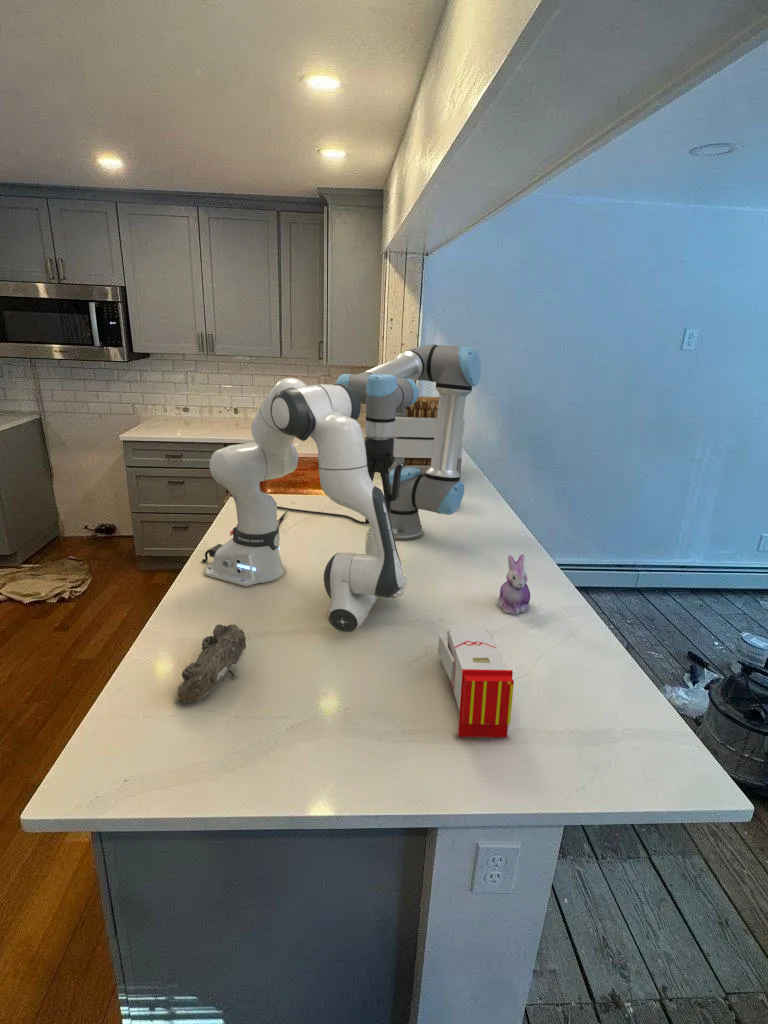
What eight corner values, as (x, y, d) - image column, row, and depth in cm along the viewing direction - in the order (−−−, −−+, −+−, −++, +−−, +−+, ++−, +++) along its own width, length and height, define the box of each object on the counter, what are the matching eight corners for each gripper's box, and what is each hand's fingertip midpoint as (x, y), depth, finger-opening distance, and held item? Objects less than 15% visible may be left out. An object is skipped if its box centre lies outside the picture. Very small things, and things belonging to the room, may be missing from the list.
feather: (294, 505, 227) (296, 501, 226) (277, 528, 200) (280, 524, 199) (290, 503, 226) (292, 499, 226) (273, 526, 200) (276, 521, 199)
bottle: (362, 593, 157) (365, 520, 150) (365, 585, 162) (367, 513, 155) (381, 595, 157) (385, 522, 149) (383, 586, 162) (387, 515, 154)
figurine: (512, 619, 147) (519, 566, 142) (488, 601, 156) (494, 551, 151) (540, 611, 151) (548, 560, 146) (515, 594, 160) (522, 546, 155)
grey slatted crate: (382, 463, 289) (386, 382, 275) (445, 464, 293) (451, 384, 279) (390, 482, 257) (394, 392, 243) (460, 483, 261) (468, 394, 247)
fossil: (199, 626, 130) (246, 596, 125) (228, 655, 132) (275, 626, 127) (155, 696, 110) (209, 664, 105) (190, 728, 113) (244, 697, 108)
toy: (488, 613, 130) (523, 677, 101) (484, 667, 133) (517, 744, 104) (435, 612, 130) (455, 676, 101) (432, 666, 133) (451, 743, 103)
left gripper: (401, 586, 142) (412, 563, 155) (324, 574, 146) (340, 553, 159) (400, 608, 144) (410, 584, 157) (324, 596, 149) (340, 573, 161)
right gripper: (415, 437, 145) (409, 522, 153) (354, 430, 150) (352, 513, 158) (406, 443, 139) (401, 532, 147) (343, 435, 144) (341, 522, 152)
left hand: (374, 568), depth 158 cm, fingers closed on bottle, 5 cm apart
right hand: (376, 522), depth 152 cm, fingers closed on cap, 4 cm apart
